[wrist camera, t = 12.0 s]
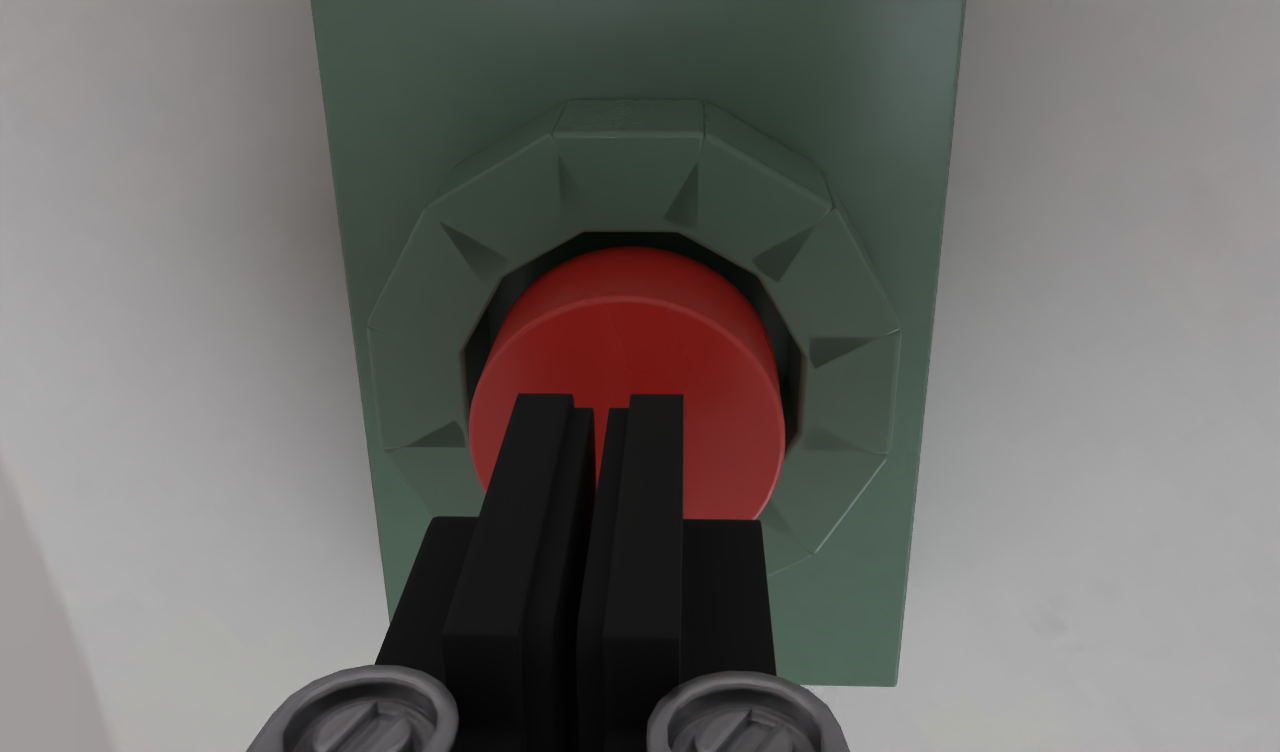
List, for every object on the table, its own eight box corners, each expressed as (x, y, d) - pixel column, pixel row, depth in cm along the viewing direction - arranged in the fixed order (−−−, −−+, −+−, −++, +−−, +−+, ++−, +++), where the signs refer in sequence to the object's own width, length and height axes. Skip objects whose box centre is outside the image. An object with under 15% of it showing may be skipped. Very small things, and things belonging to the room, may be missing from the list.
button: (482, 244, 14) (455, 295, 12) (781, 244, 14) (793, 297, 12) (500, 500, 16) (478, 575, 14) (771, 503, 15) (779, 580, 14)
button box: (343, -140, 16) (236, -133, 12) (944, -149, 15) (1021, -143, 12) (424, 597, 21) (366, 758, 17) (877, 604, 20) (916, 771, 17)
